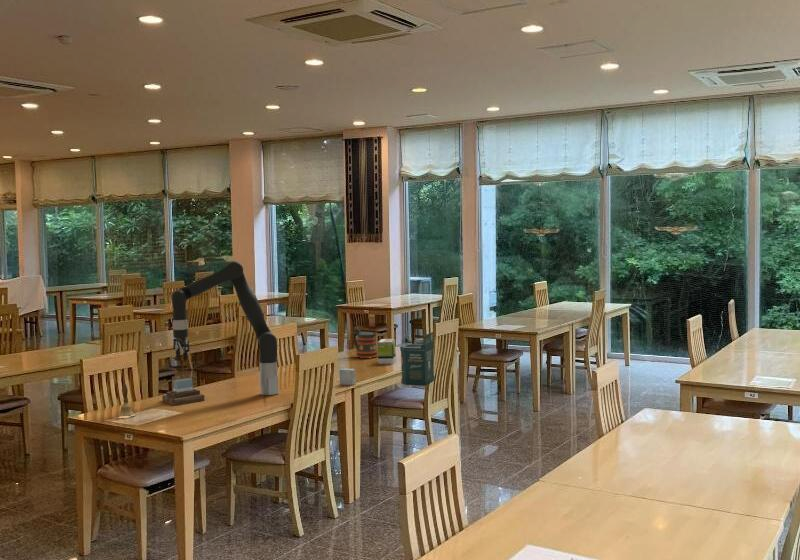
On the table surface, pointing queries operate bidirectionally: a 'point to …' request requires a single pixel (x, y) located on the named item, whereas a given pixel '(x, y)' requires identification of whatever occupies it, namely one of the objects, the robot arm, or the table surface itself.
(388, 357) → the tea box
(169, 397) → the walnut stand
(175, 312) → the robot arm
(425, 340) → the donation box
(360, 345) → the beer stein
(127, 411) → the hand bell
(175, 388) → the housing
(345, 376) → the medicine box
